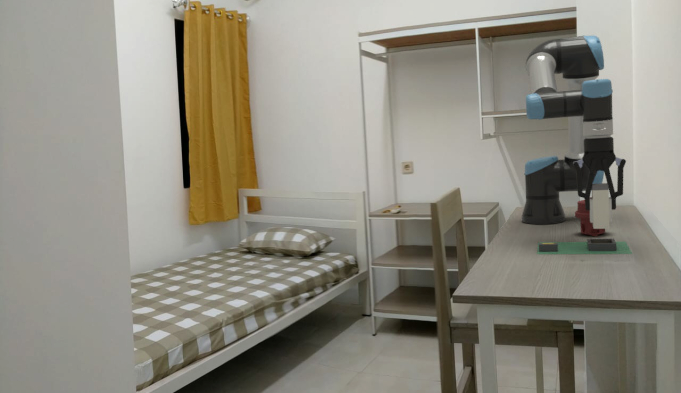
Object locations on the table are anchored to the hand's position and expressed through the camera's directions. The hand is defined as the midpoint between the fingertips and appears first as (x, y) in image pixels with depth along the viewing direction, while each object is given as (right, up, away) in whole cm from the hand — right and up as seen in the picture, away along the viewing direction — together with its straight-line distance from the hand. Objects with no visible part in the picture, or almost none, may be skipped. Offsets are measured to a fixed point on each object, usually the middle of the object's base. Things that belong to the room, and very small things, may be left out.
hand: (600, 221), depth 171 cm
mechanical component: (+6, -6, +21) cm, 23 cm away
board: (-4, -8, +4) cm, 10 cm away
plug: (0, -2, 0) cm, 2 cm away
